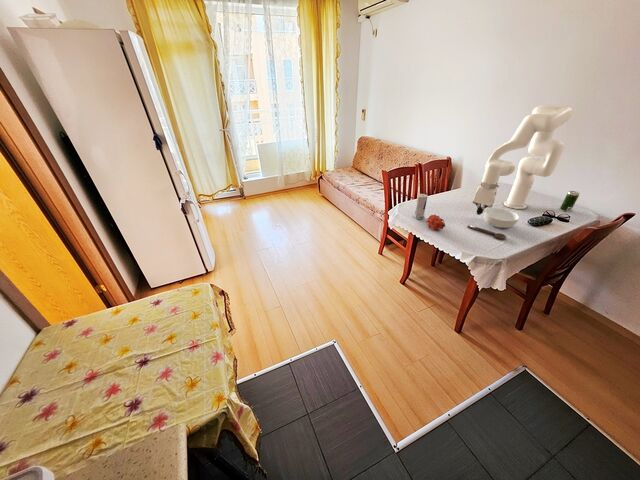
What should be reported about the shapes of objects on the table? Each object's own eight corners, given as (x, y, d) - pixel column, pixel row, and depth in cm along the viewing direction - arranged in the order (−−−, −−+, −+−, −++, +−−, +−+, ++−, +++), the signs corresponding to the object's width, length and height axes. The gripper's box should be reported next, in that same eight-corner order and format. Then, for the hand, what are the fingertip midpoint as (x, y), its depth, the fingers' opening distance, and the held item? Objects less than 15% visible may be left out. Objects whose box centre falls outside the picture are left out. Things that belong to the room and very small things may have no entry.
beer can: (572, 211, 157) (582, 193, 150) (564, 212, 157) (573, 194, 150) (565, 208, 161) (574, 190, 155) (557, 208, 161) (566, 191, 155)
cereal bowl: (478, 226, 148) (481, 215, 144) (483, 215, 158) (487, 205, 155) (512, 234, 138) (517, 223, 134) (516, 222, 149) (520, 211, 145)
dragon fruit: (425, 225, 155) (441, 236, 147) (420, 221, 149) (436, 232, 141) (435, 214, 152) (451, 224, 144) (429, 209, 146) (446, 220, 138)
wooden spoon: (465, 228, 146) (466, 225, 145) (469, 225, 149) (470, 222, 148) (503, 241, 133) (504, 238, 133) (506, 237, 136) (507, 234, 135)
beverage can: (424, 219, 158) (428, 197, 150) (414, 219, 159) (418, 196, 151) (422, 215, 163) (426, 193, 155) (413, 215, 164) (417, 193, 156)
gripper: (505, 186, 141) (494, 215, 150) (477, 180, 151) (468, 208, 160) (500, 190, 137) (490, 219, 146) (471, 183, 146) (463, 212, 156)
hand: (478, 213), depth 153 cm, fingers closed
